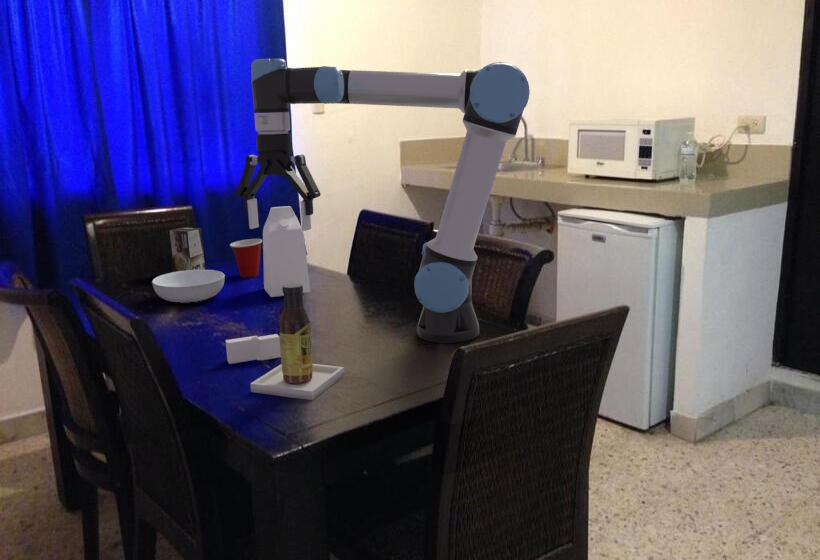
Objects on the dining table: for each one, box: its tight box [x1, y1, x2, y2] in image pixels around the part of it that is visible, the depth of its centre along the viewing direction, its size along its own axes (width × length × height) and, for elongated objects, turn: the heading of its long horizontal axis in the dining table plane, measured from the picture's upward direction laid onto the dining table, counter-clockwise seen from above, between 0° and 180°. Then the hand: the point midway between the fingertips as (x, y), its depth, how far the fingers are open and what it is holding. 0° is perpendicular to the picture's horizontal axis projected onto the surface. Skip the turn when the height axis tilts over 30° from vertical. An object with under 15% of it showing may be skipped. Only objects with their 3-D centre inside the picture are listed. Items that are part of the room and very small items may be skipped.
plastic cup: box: [229, 238, 263, 279], centre depth 249 cm, size 11×11×12 cm
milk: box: [262, 205, 311, 298], centre depth 226 cm, size 12×12×26 cm
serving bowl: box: [151, 269, 226, 304], centre depth 221 cm, size 21×21×7 cm
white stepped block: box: [225, 333, 281, 365], centre depth 167 cm, size 15×11×6 cm
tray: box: [250, 363, 346, 401], centre depth 152 cm, size 14×14×2 cm
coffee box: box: [169, 227, 206, 272], centre depth 252 cm, size 9×6×16 cm
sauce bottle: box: [279, 284, 314, 384], centre depth 150 cm, size 6×6×20 cm
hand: (280, 229), depth 166 cm, fingers open, 13 cm apart
